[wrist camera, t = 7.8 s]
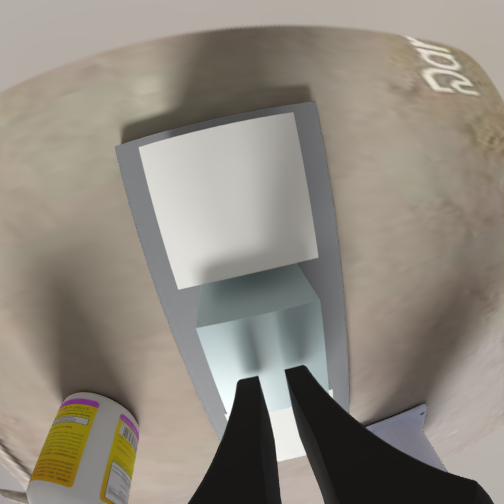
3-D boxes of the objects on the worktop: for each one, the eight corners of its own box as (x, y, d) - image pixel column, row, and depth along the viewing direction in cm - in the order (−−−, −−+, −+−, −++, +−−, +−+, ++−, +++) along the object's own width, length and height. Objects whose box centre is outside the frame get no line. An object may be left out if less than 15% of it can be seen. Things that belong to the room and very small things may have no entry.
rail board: (345, 410, 22) (372, 469, 17) (222, 438, 22) (226, 503, 16) (309, 103, 15) (359, 83, 9) (120, 146, 15) (67, 149, 9)
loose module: (297, 321, 17) (329, 396, 11) (225, 337, 17) (229, 419, 11) (284, 243, 16) (320, 300, 10) (203, 261, 15) (195, 328, 10)
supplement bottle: (55, 414, 20) (8, 534, 8) (78, 374, 19) (16, 522, 7) (121, 451, 22) (99, 575, 10) (156, 419, 21) (136, 571, 9)
